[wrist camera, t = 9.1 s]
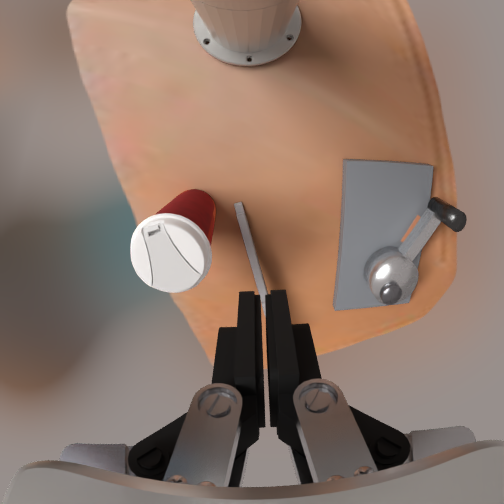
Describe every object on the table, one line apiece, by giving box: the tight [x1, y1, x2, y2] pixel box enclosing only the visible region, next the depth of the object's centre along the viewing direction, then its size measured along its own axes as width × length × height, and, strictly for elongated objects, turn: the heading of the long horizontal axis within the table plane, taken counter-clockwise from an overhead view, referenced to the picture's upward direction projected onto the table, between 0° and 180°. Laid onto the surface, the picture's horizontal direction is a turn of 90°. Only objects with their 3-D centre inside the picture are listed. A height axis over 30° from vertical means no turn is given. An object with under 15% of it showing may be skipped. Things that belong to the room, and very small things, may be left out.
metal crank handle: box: [364, 197, 466, 305], centre depth 34 cm, size 16×7×7 cm, turn 150°
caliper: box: [234, 202, 268, 317], centre depth 38 cm, size 20×1×6 cm, turn 16°
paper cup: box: [131, 189, 216, 293], centre depth 31 cm, size 8×8×14 cm
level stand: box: [333, 159, 433, 311], centre depth 38 cm, size 22×13×2 cm, turn 3°
